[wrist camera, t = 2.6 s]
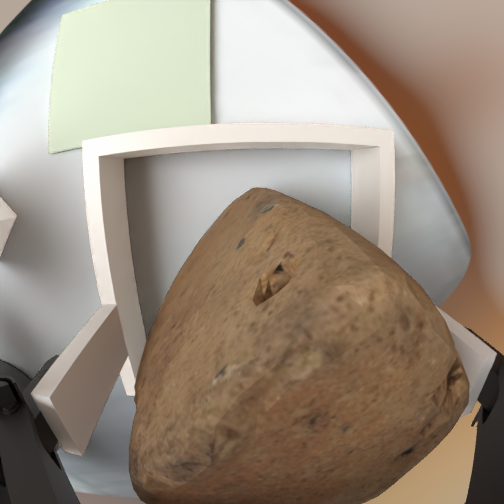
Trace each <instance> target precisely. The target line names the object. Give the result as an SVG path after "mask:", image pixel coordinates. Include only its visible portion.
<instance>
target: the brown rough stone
mask: <svg viewBox="0 0 504 504" xmlns="http://www.w3.org/2000/svg"><path fill="white" fill-rule="evenodd" d="M134 389H135V397H134V401H135V403H136V409H137V411H136V414H135V418H134V421H133V427H132V433H131V439H130V446H129V473H130V477H131V481H132V485H133V489H134V491H135V492H136V494H137V495H138V497H139V498H140V500H142V501H143V502H145V503H146V504H362V503H365V502H367V501H369V500H371V499H373V498H375V497H377V496H379V495H380V494H381V493H383V492H384V491H386V490H387V489H388V488H389V487H391V486H392V485H393V484H394V483H395V482H397V481H398V480H399V479H400V478H401V477H402V476H404V475H405V474H406V473H407V472H408V471H409V470H411V469H412V468H413V467H414V466H415V465H417V464H418V463H419V462H420V461H421V460H422V459H424V458H425V457H426V456H427V455H428V454H429V453H430V452H431V451H432V450H433V449H434V448H435V447H436V446H437V445H438V444H439V443H440V442H441V441H442V440H443V439H444V438H445V437H446V436H447V435H448V433H449V432H450V431H451V430H452V429H453V427H454V426H455V424H456V422H457V421H458V419H459V418H460V416H461V415H462V413H463V412H464V410H465V408H466V407H467V405H468V403H469V390H470V383H469V380H468V377H467V374H466V372H465V369H464V366H463V364H462V361H461V359H460V356H459V354H458V352H457V350H456V348H455V343H454V340H453V338H452V335H451V333H450V330H449V328H448V326H447V323H446V321H445V319H444V318H443V316H442V315H441V313H440V312H439V311H438V309H437V308H436V306H435V305H434V303H433V302H432V301H431V299H430V298H429V297H428V295H427V294H426V292H425V291H424V290H423V288H422V287H421V286H420V285H419V284H418V283H417V282H416V281H415V280H414V279H413V278H412V277H411V276H410V275H409V274H408V273H407V272H405V271H404V270H403V269H402V268H401V267H400V266H399V265H398V264H397V263H396V262H395V261H394V260H392V259H391V258H390V257H389V256H388V255H387V254H386V253H385V252H384V251H382V250H381V249H380V248H378V247H377V246H375V245H374V244H373V243H371V242H370V241H368V240H367V239H366V238H364V237H363V236H361V235H360V234H359V233H357V232H356V231H354V230H353V229H351V228H349V227H347V226H345V225H344V224H342V223H340V222H338V221H337V220H335V219H334V218H332V217H330V216H329V215H327V214H325V213H324V212H322V211H320V210H318V209H316V208H313V207H311V206H309V205H307V204H305V203H303V202H300V201H298V200H296V199H294V198H292V197H289V196H287V195H285V194H283V193H280V192H277V191H275V190H271V189H267V188H252V189H250V190H249V191H247V192H246V193H245V194H243V195H242V196H241V197H239V198H237V199H235V200H234V201H233V202H232V203H231V204H230V205H229V206H228V207H227V208H226V209H225V210H224V211H223V213H222V214H221V215H220V216H219V217H218V218H217V220H216V221H215V222H214V223H213V225H212V226H211V227H210V228H209V229H208V230H207V232H206V233H205V234H204V236H203V237H202V238H201V239H200V241H199V242H198V244H197V245H196V247H195V248H194V250H193V251H192V253H191V254H190V256H189V257H188V259H187V260H186V262H185V263H184V265H183V266H182V268H181V269H180V271H179V273H178V274H177V276H176V278H175V280H174V281H173V283H172V285H171V287H170V289H169V291H168V293H167V295H166V297H165V299H164V301H163V303H162V305H161V307H160V309H159V312H158V314H157V316H156V318H155V321H154V323H153V325H152V328H151V330H150V333H149V335H148V338H147V341H146V344H145V348H144V351H143V354H142V358H141V361H140V364H139V369H138V373H137V377H136V381H135V385H134Z"/></svg>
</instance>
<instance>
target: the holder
mask: <svg viewBox="0 0 504 504" xmlns="http://www.w3.org/2000/svg"><path fill="white" fill-rule="evenodd" d="M265 148H300V149H334V150H351V229H353V230H354V231H356V232H357V233H359V234H360V235H361V236H363V237H364V238H366V239H367V240H368V241H370V242H371V243H373V244H374V245H375V246H377V247H378V248H380V249H381V250H382V251H384V252H385V253H386V254H387V255H388V256H389V257H390V258H391V256H392V244H393V229H394V208H395V145H394V131H393V130H385V129H376V128H367V127H357V126H345V125H332V124H314V123H276V122H263V123H224V124H206V125H192V126H180V127H170V128H161V129H152V130H144V131H137V132H130V133H123V134H117V135H111V136H105V137H99V138H94V139H89V140H84V141H82V153H83V177H84V192H85V204H86V214H87V223H88V232H89V239H90V246H91V253H92V259H93V265H94V271H95V277H96V282H97V287H98V292H99V297H100V301H101V305H102V304H117V307H118V312H119V316H120V321H121V325H122V329H123V334H124V338H125V342H126V346H127V350H128V353H129V355H128V357H127V360H126V362H125V364H124V366H123V368H122V370H121V372H120V376H121V379H122V382H123V385H124V388H125V391H126V394H127V395H128V396H135V389H134V385H135V381H136V377H137V373H138V369H139V364H140V361H141V358H142V354H143V351H144V348H145V344H146V341H147V339H146V334H145V329H144V325H143V320H142V314H141V309H140V304H139V298H138V292H137V286H136V280H135V273H134V266H133V259H132V252H131V243H130V235H129V226H128V215H127V204H126V191H125V175H124V159H127V158H134V157H142V156H151V155H161V154H171V153H182V152H195V151H210V150H230V149H265Z"/></svg>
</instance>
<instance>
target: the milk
mask: <svg viewBox="0 0 504 504" xmlns="http://www.w3.org/2000/svg"><path fill="white" fill-rule="evenodd" d="M16 217H17V215H16V214H15V213H14V212H13V210H12V209H11V208H10V207H9V206H8V205H7V204H6V203H5V201H4V200H3V199H2V198H1V197H0V257H1V254H2V251H3V249H4V246H5V243H6V241H7V238H8V236H9V234H10V231H11V229H12V226H13V224H14V222H15V220H16Z"/></svg>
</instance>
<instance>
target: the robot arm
mask: <svg viewBox="0 0 504 504" xmlns="http://www.w3.org/2000/svg"><path fill="white" fill-rule="evenodd" d="M436 308H437V309H438V311H439V312H440V313H441V315H442V316H443V318H444V319H445V321H446V323H447V326H448V328H449V330H450V333H451V335H452V338H453V340H454V343H455V348H456V350H457V352H458V354H459V356H460V359H461V361H462V364H463V366H464V369H465V372H466V374H467V377H468V380H469V383H470V390H469V403H468V405H467V407H466V408H465V410H464V412H463V413H462V415H461V416H460V417H462V416H464V415H466V414H468V413H471V412H472V410H473V408H474V406H475V404H476V401H477V400H478V401H479V402H480V403H481V407H480V409H479V411H478V413H477V415H476V417H475V419H474V420H473V422H472V425H471V426H474V424H475V423H476V422H477V421H478V425H477V437H476V446H475V454H474V461H473V469H472V474H471V480H470V485H469V490H468V495H467V499H466V503H465V504H504V356H503V355H502V354H501V353H500V352H499V351H497V350H496V349H495V348H494V347H492V346H491V345H490V344H489V343H487V342H486V341H484V340H483V339H482V338H481V337H478V335H477V334H475V333H474V332H473V331H472V330H471V329H468V328H466V327H464V326H462V325H461V324H459V323H458V322H457V321H455V320H454V319H453V318H451V317H450V316H449V315H447V314H446V313H445V312H443V311H442V310H441V309H439V308H438V307H437V306H436ZM128 355H129V353H128V350H127V346H126V342H125V338H124V334H123V329H122V325H121V321H120V316H119V312H118V307H117V304H102V305H101V307H100V308H99V309H98V310H97V311H96V312H95V314H94V315H93V316H92V317H91V318H90V319H89V321H88V322H87V323H86V324H85V325H84V326H83V328H82V329H81V330H80V331H79V332H78V334H77V335H76V336H75V337H74V338H73V340H72V341H71V342H70V343H69V345H68V346H67V347H66V348H65V350H64V351H63V352H62V353H61V355H56V356H54V357H53V358H51V359H50V360H48V361H47V362H46V363H45V364H44V366H43V367H42V368H41V371H39V372H38V373H37V374H36V377H34V378H33V379H32V380H31V379H30V378H28V377H27V376H26V375H25V374H23V373H22V372H21V371H19V370H18V369H16V368H15V367H13V366H11V365H10V364H8V363H5V362H3V361H0V504H80V502H79V500H78V498H77V496H76V494H75V492H74V490H73V488H72V486H71V483H70V481H69V479H68V477H67V475H66V472H65V470H64V468H63V465H62V463H61V460H60V458H59V455H58V454H57V452H56V451H58V450H59V448H60V447H62V449H63V450H64V452H67V453H71V454H75V455H79V456H83V455H84V452H85V450H86V448H87V445H88V443H89V440H90V438H91V436H92V433H93V431H94V429H95V426H96V424H97V422H98V420H99V417H100V415H101V413H102V411H103V408H104V406H105V404H106V402H107V400H108V397H109V395H110V393H111V391H112V389H113V387H114V384H115V382H116V380H117V378H118V376H119V374H120V372H121V370H122V368H123V366H124V364H125V362H126V360H127V357H128Z"/></svg>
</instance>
